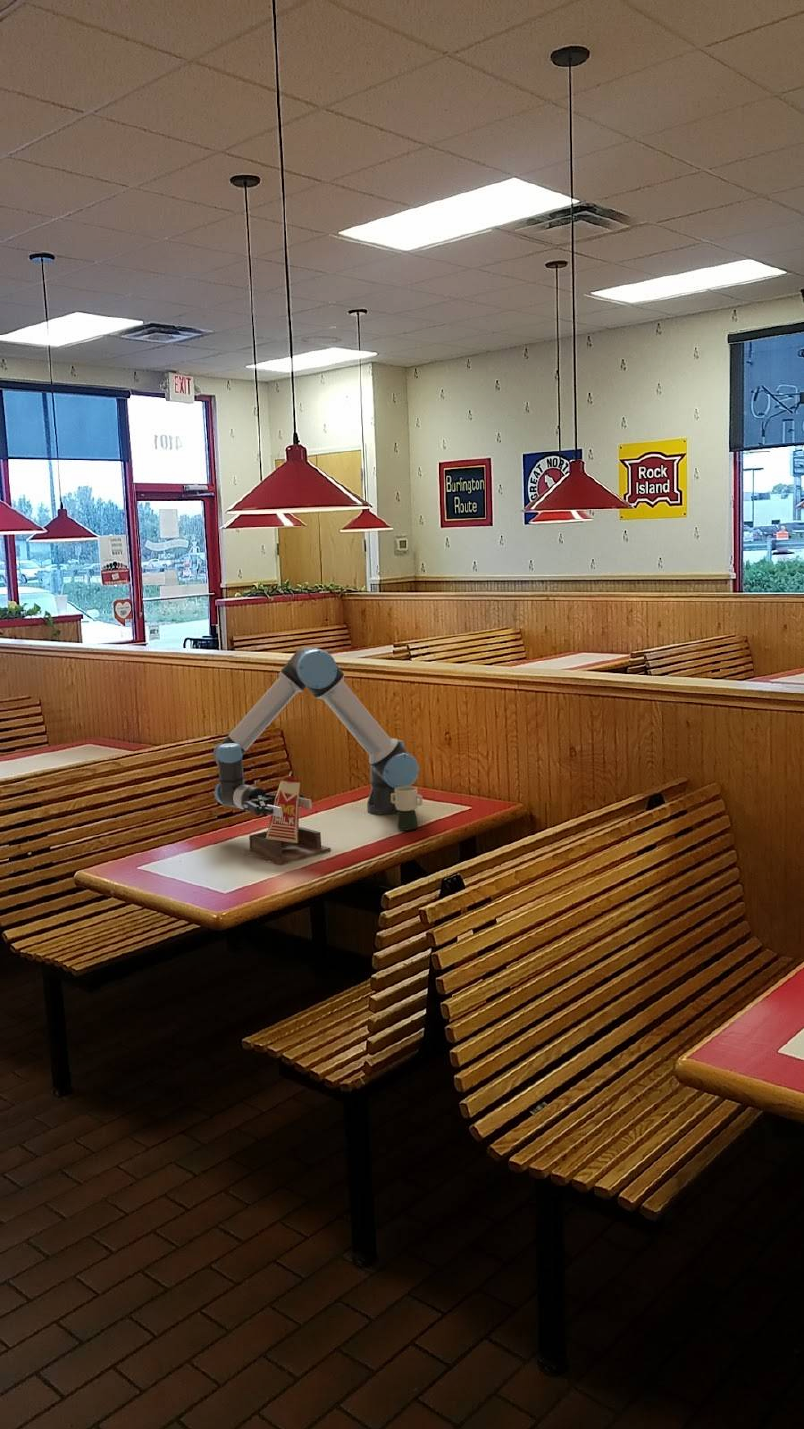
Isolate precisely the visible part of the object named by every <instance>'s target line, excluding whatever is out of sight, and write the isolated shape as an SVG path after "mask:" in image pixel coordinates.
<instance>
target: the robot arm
mask: <svg viewBox="0 0 804 1429" xmlns="http://www.w3.org/2000/svg"><path fill="white" fill-rule="evenodd" d="M306 688H307V690H308V691H309V692H310V693H311V695H313V697H314V698H315V699H321V700H322V701H324V703H325V704H326V705H327V706H328V707H329V708H330V710H331V712H332V713H334V715H335V716H336V717H337V718H338V719H339V721H340V722H341V723H342V724H343V725H344V727H345V728H346V729H347V730H348V731H349V732H350V733H351V736H353V738H355V740H356V741H357V742H358V744H359V745H360V746H361V747H362V748H363V750H365V752H366V753H367V754H368V756H369V758H368V763H369V771H370V784H371V785H370V791H369V795H368V798H367V802H366V803H367V804H366V806H367V807H366V810H367V812H368V813H371V814H376V815H393V814H394V815H395V814H399V812H400V810H397V809H396V806H395V804H393V803H391V793H395V788H398V787H402V786H413V784H414V783H415V782H416V780H417V779H418V776H419V773H420V771H419V770H420V766H419V763H418V760H417V758H416V757H415V756H413V755H412V754H410V752H408V750H407V749H406V748H405V744H404V741H403V740H400V739H398V738H392V737H390V736H389V735H388V734H387V733H386V731H385V730H384V729H383V728H382V726H381V725H380V723H378V722H377V720H376V719H375V717H373V715H372V714H371V712H369V710H368V709H367V708H366V707H365V706H364V704H363V703H362V702H361V700H360V699H359V698H358V697H357V696H356V694H354V692H353V691H352V690H351V688H350V687H349V686H348V685H347V683H346V682H345V673H344V672H343V671H342V670H341V669H340V667H339V666H338V665H337V663H336V661H335V658H334V657H333V656H332V654H330V653H329V652H328V651H326V650H324V649H321V648H319V647H316V646H310V645H308V646H303V647H301V648H299V649H298V650H297V651H296V652H294V653H293V655H292V656H291V658H290V659H289V660H288V661H287V662H286V664H285V665H284V666H283V667H282V669H281V670H279V677H278V678H277V679H276V680H275V682H274V683H272V685H271V686H270V687H269V689H267V691H266V692H265V693H264V694H263V695H262V696H261V697H260V698H259V700H258V701H257V702H256V703H255V704H254V705H253V707H252V708H251V709H250V710H249V711H248V713H247V714H245V715H244V717H243V718H242V720H240V722H239V723H238V724H237V725H236V726H235V727H234V728H233V729H232V730H231V732H230V733H229V734H228V735H227V737H225V739H224V740H223V741H222V742H220V743H218V744H216V746H215V747H214V750H213V759H214V762H215V763H216V766H217V768H218V777H219V783H217V784H216V785H215V788H214V791H213V792H214V793H213V795H214V798H215V800H216V801H217V803H219V804H221V805H224V806H226V807H231V808H236V809H241V810H244V811H245V812H250V813H251V814H253V815H255V816H260V815H262V818H265V817H267V815H270V816H271V815H273V816H277V817H283V813H282V807H278V806H274V801H275V797H276V794H277V793H276V794H274V793H268V792H267V791H266V790H265V788H262V787H259V786H254V785H250V784H245V777H244V764H243V762H244V761H243V756H244V754H245V753H246V752H247V751H248V749H250V747H251V746H252V744H253V743H254V742H255V741H256V740H257V739H258V738H259V737H260V736H261V734H263V732H264V731H265V730H266V729H267V728H268V726H269V725H271V723H272V722H273V721H274V719H276V717H277V716H278V715H279V714H280V713H281V712H282V710H284V708H285V707H286V706H287V705H288V704H289V703H290V701H291V700H292V699H293V698H294V697H295V696H296V695H297V694H298V693H303V692H304V691H305V690H306ZM394 801H395V796H394ZM312 804H313V803H312V799H309V798H304V794H300V793H299V808H301V809H302V808H303V809H307V810H312V809H313V805H312Z"/></svg>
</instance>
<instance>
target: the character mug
mask: <svg viewBox="0 0 804 1429" xmlns="http://www.w3.org/2000/svg"><path fill="white" fill-rule="evenodd" d="M394 796H395V801H394ZM391 803H393V804H395V806H396V809H397V810H400V812H399V813H398V817H397V818H398V819H397V829H398V830H400V831H408V830H411V831H413V830H414V829H417V828H418V827H419V824H418V818H417V812H416V811H415V810H417V809H418V807H419V806H420V807H421V806H423V795H421V794H419V793H418V787H417V786H413V785H410V786H402V787H398V788H395V793H391Z"/></svg>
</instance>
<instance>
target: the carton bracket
mask: <svg viewBox="0 0 804 1429" xmlns="http://www.w3.org/2000/svg"><path fill="white" fill-rule="evenodd" d="M267 832H268V830H267V831H262V832H258V833H254V834H251V835H250V834H249V836H248V839H249V849H246V850H244V851H243V852H244V855H246V856H249V855H250V856H249V857H252V856H253V858H255V859H259V860H262V861H265V862H268V861H271V862H273V863H272V864H274V865H278V866H283V865H285V863H287V864H290V863H293V862H292V861H294V862H296V861H300V860H304V859H308V858H310V857H311V856H312V857H315V856H318V854H319V855H322V854H325V853H328V852H329V853H330V852H331V850H332V849H331V847H328V846H325V845H322V837H321V836H322V835H321V834H322V833H321V832H320V831H318V830H313V829H310V828H305V827H301V826H299V833H298V843H292V842H285V841H278V840H270V839H266V836H267ZM271 862H270V863H271ZM289 862H290V863H289Z"/></svg>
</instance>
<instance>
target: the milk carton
mask: <svg viewBox="0 0 804 1429" xmlns="http://www.w3.org/2000/svg"><path fill="white" fill-rule="evenodd" d="M292 773H293V772H292V771H289V774H288V776H287V777H285V778H284V779H282V780H281V781H280V783H279V786H278V789H277V792H276V797H275V801H274V806H278V807H282V813H283V817H277V816H273V815H270V819H269V823H268V824H269V825H268V828H267V831H268V832H267V836H266V839H270V840H278V841H285V842H292V843H298V833H299V827H300V825H299V823H300V807H299V794H300V786H301V782H300V781H298V780H297V779H296V778H294V777H293V776H292Z"/></svg>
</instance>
